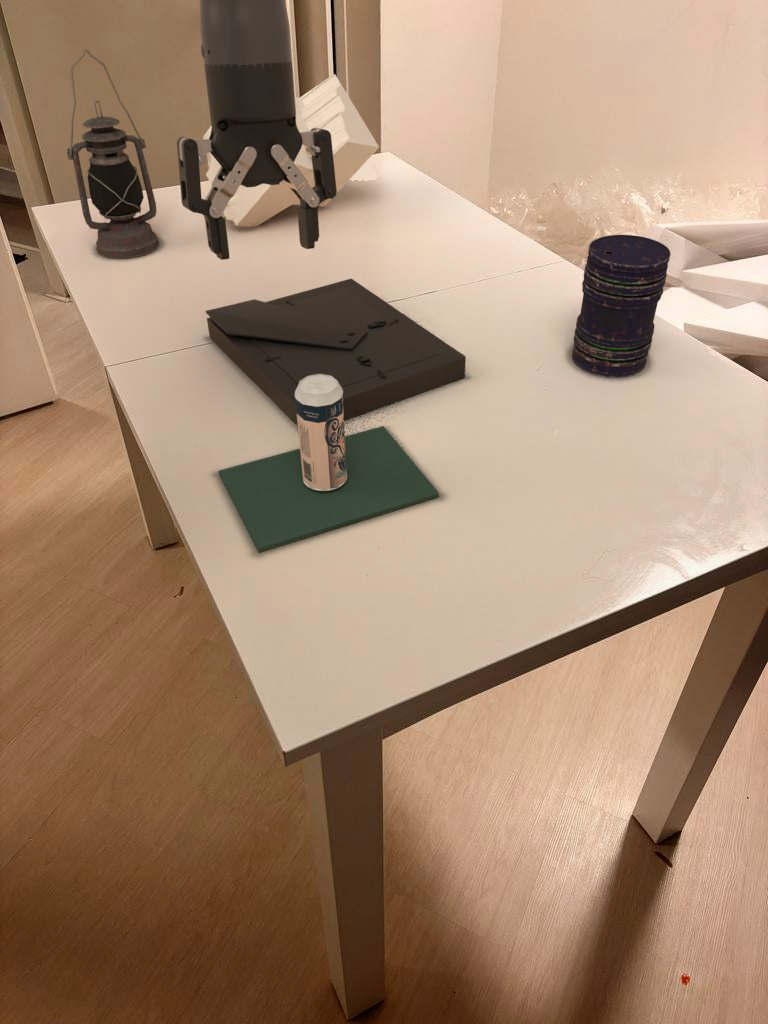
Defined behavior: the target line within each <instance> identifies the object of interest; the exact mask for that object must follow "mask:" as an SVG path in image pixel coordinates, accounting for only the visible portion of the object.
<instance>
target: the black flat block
mask: <svg viewBox="0 0 768 1024" xmlns="http://www.w3.org/2000/svg"><path fill="white" fill-rule="evenodd" d="M205 314H206V315H207V316H209V317H207V318H206V324H207V328H208V334H209V339H210V340H211V341H212V342H213V343H214V345H216V346H217V347H218V348H219V349H220V350H221V351H222V352H223V353H224V354H225V355H226V356H227V357H228V358H229V359H230V360H231V361H232V362H233V363H234V364H235V365H236V366H237V367H238V368H239V369H240V370H241V371H242V372H243V373H244V374H245V375H246V376H247V377H248V378H249V379H250V380H251V381H252V382H253V383H254V384H255V385H256V386H257V387H258V388H259V389H260V390H261V391H262V392H263V393H264V394H265V395H266V396H267V397H268V398H269V399H270V400H271V401H272V402H273V403H274V404H275V405H276V406H277V407H278V409H280V410H281V411H282V412H283V413H284V415H286V416H287V417H288V418H289V420H291V421H292V422H293V423H294V424H295V425H296V426H297V427H298V422H297V411H296V401H295V391H296V389H297V387H298V385H299V382H300V380H302V379H304V378H305V377H307V376H310V375H316V374H324V375H330V376H332V377H333V378H335V379H336V380H337V381H338V383H339V384H340V386H341V387H342V389H343V411H344V421H347V420H350V419H352V418H355V417H358V416H362V415H364V414H366V413H369V412H372V411H375V410H378V409H381V408H384V407H386V406H389V405H392V404H395V403H397V402H400V401H403V400H406V399H408V398H411V397H414V396H417V395H419V394H420V395H421V394H422V393H425V392H428V391H431V390H434V389H436V388H439V387H442V386H446V385H448V384H450V383H453V382H456V381H459V380H462V379H464V378H465V377H466V362H467V361H466V360H467V356H466V355H465V354H463V353H461V352H460V351H458V350H457V349H455V348H454V347H452V346H451V345H449V344H448V343H447V342H445V341H444V340H443V339H441V338H439V337H438V336H436V335H435V334H434V333H432V332H430V331H429V330H428V329H426V328H425V327H424V326H422V325H420V324H419V323H418V322H416V321H414V320H413V319H411V318H410V317H408V316H407V315H406V314H405V313H402V312H401V311H400V310H399V309H397V308H395V307H394V306H393V305H391V304H389V303H388V302H386V301H385V300H384V299H382V298H381V297H380V296H378V295H376V294H375V293H374V292H372V291H370V290H369V289H368V288H366V287H365V286H363V285H361V284H360V283H359V282H357V281H356V280H354V279H353V278H347V279H343V280H340V281H336V282H334V283H333V282H332V283H329V284H327V285H323V286H319V287H315V288H311V289H308V290H304V291H301V292H296V293H293V294H290V295H286V296H283V297H279V298H275V299H272V300H268V301H262V300H259V299H250V300H246V301H241V302H237V303H233V304H228V305H224V306H220V307H216V308H212V309H211V308H210V309H207V310H205Z"/></svg>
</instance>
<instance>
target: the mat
mask: <svg viewBox="0 0 768 1024" xmlns="http://www.w3.org/2000/svg"><path fill="white" fill-rule="evenodd" d="M345 450H346V470H347V480H346V482H345V483H344V484H343V485H342V486H340V487H339V488H337V489H333V490H330V491H317V490H314V489H311V488H309V487H308V486H307V485H306V484H305V483H304V482H303V474H302V464H301V453H300V448H297V449H294V450H290V451H286V452H282V453H277V454H275V455H271V456H268V457H264V458H260V459H257V460H253V461H250V462H245V463H242V464H238V465H234V466H231V467H227V468H223V469H219V470H218V476H219V478H220V480H221V482H222V483H223V486H224V488H225V490H226V491H227V493H228V495H229V497H230V500H231V502H232V503H233V505H234V507H235V510H236V511H237V513H238V515H239V517H240V519H241V521H242V523H243V525H244V527H245V529H246V531H247V533H248V535H249V537H250V539H251V541H252V543H253V545H254V546H255V549H256V551H257V553H262V552H266V551H269V550H273V549H276V548H279V547H282V546H286V545H288V544H292V543H294V542H298V541H302V540H304V539H308V538H311V537H314V536H317V535H321V534H324V533H327V532H330V531H333V530H338V529H340V528H343V527H346V526H350V525H353V524H357V523H359V522H363V521H366V520H370V519H373V518H376V517H378V516H382V515H385V514H389V513H393V512H395V511H399V510H402V509H405V508H408V507H411V506H415V505H418V504H421V503H424V502H428V501H430V500H434V499H437V498H440V491H438V489H436V487H435V486H434V485H433V484H432V483H431V481H430V480H429V479H428V478H427V477H426V475H425V474H424V472H422V470H420V468H419V467H418V466H417V465H416V464H415V462H414V461H413V460H412V459H411V457H410V456H409V454H407V453H406V451H405V450H404V449H403V448H402V447H401V445H400V444H399V443H398V442H397V441H396V439H395V438H394V437H393V436H392V434H390V433H389V431H388V430H387V429H386V428H385V426H384V425H382V426H379V427H374V428H371V429H368V430H363V431H360V432H357V433H352V434H348V435H345Z"/></svg>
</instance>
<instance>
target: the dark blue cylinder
mask: <svg viewBox="0 0 768 1024" xmlns="http://www.w3.org/2000/svg"><path fill="white" fill-rule="evenodd" d="M671 255H672V254H671V250H670V248H669V247H668V246H667V245H665V244H664V243H662V242H660V241H659V240H656V239H652V238H650V237H645V236H641V235H633V234H611V235H605V236H600V237H598V238H596V239H594V240H592V241H591V242H590V243H589V245H588V250H587V257H586V264H585V265H584V270H583V280H582V282H581V286H582V287H581V291H582V300H581V307H580V313H579V314H578V316H577V317H576V318H577V319H576V322H575V329H574V334H573V349H572V353H571V359H572V362H573V363H574V365H576V367H578V368H579V369H581V370H582V371H584V372H586V373H588V374H591V375H594V376H598V377H603V378H609V379H611V378H612V379H620V378H628V377H632V376H635V375H638V374H639V373H641V372H643V370H644V369H645V368H646V365H647V357H648V355H649V353H650V350H651V347H652V343H653V336H654V333H655V323H654V321H655V316H656V312H657V307H658V304H659V301H660V300H661V298H662V296H663V293H664V287H665V285H666V280H667V277H668V274H667V272H668V267H669V263H670V259H671Z"/></svg>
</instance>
